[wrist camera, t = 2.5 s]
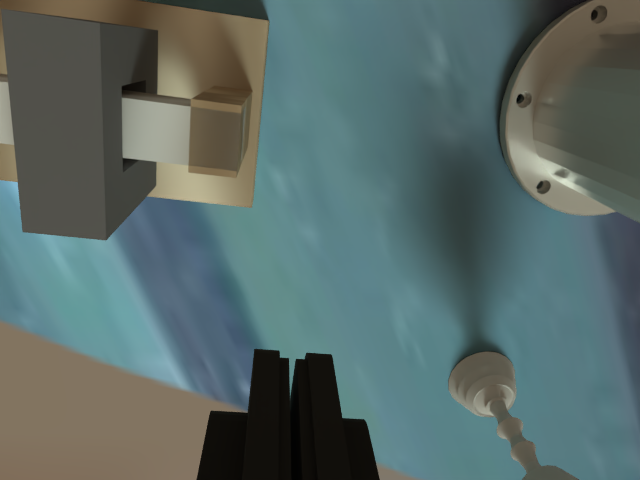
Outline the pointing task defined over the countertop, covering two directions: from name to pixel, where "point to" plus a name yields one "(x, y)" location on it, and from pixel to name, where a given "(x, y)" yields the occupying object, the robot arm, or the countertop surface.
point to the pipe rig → (178, 97)
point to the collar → (76, 120)
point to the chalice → (498, 406)
